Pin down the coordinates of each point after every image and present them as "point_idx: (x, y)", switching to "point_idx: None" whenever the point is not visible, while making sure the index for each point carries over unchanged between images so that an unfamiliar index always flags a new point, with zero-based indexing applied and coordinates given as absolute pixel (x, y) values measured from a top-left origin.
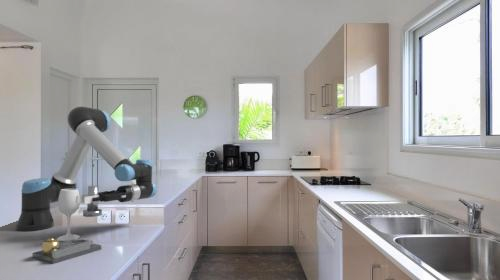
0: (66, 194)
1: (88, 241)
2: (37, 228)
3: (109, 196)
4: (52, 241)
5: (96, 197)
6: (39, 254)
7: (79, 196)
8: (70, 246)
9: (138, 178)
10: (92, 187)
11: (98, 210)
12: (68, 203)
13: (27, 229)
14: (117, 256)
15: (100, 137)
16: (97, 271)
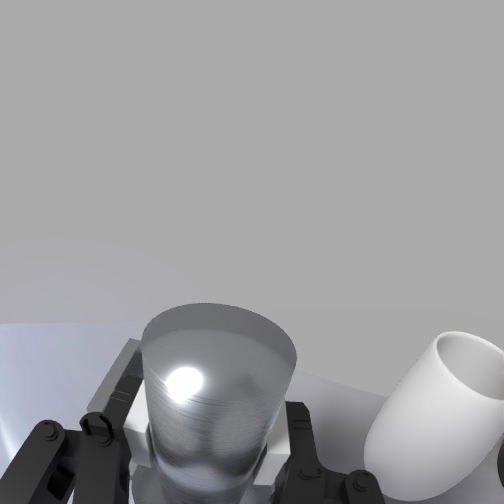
0: (417, 359)
1: (95, 410)
2: (502, 468)
3: (23, 457)
4: None
5: (125, 400)
6: None
7: None
8: (117, 367)
9: None
10: (175, 313)
11: (151, 496)
12: (380, 410)
13: (501, 450)
14: (5, 402)
15: None
16: (22, 335)
